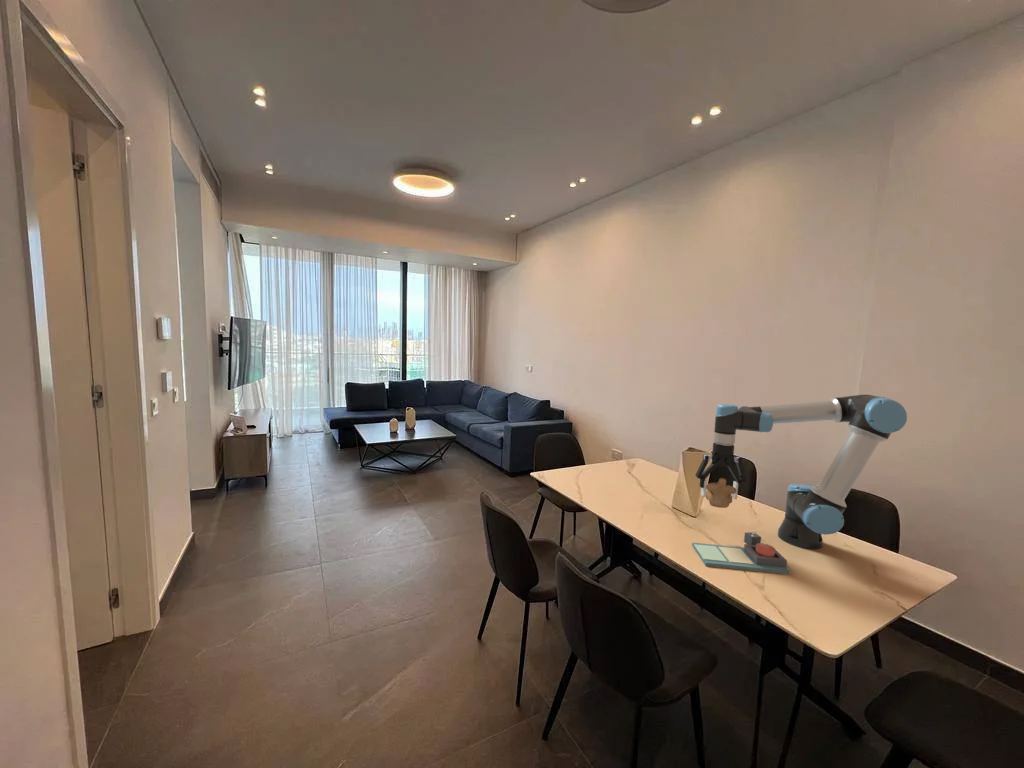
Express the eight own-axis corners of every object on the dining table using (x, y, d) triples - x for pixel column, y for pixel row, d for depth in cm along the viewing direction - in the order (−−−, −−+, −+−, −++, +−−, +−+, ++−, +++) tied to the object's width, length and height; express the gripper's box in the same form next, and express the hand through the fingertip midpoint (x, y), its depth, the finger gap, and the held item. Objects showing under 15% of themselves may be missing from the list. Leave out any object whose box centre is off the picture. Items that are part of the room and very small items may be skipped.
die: (752, 541, 166) (753, 531, 166) (760, 546, 162) (761, 536, 162) (743, 542, 165) (744, 532, 165) (751, 546, 161) (752, 536, 161)
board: (768, 552, 157) (769, 543, 157) (789, 574, 142) (791, 564, 142) (691, 545, 160) (692, 536, 160) (705, 565, 145) (706, 555, 145)
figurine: (732, 502, 168) (737, 471, 162) (732, 516, 161) (738, 485, 155) (703, 496, 173) (708, 466, 167) (702, 510, 165) (707, 479, 159)
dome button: (768, 554, 153) (770, 544, 152) (777, 562, 147) (778, 552, 146) (751, 552, 153) (753, 542, 153) (759, 560, 147) (760, 550, 147)
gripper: (750, 443, 165) (745, 495, 167) (689, 439, 167) (685, 491, 169) (759, 447, 157) (754, 502, 159) (695, 443, 160) (691, 497, 162)
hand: (718, 496), depth 164 cm, fingers closed on figurine, 11 cm apart
